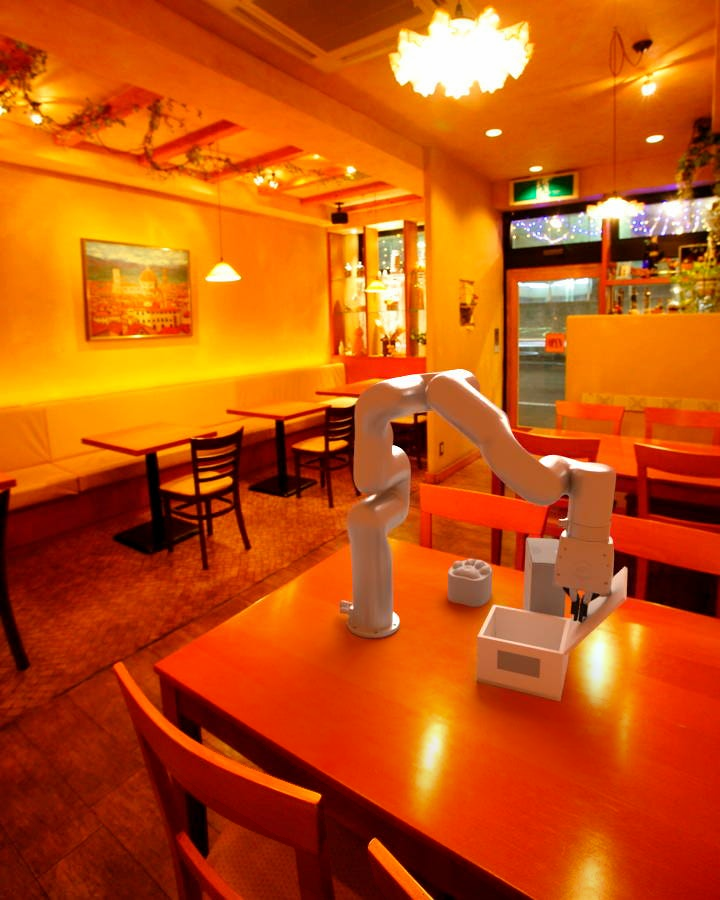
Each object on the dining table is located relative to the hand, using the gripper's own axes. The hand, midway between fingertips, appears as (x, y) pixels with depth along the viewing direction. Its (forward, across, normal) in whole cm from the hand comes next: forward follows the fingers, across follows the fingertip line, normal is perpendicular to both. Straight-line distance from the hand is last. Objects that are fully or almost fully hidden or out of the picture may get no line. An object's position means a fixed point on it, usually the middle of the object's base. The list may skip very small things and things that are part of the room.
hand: (578, 618), depth 110 cm
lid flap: (-3, +3, 0) cm, 4 cm away
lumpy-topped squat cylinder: (+15, -28, +29) cm, 43 cm away
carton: (+14, -9, 0) cm, 17 cm away
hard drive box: (+15, -8, +18) cm, 25 cm away
